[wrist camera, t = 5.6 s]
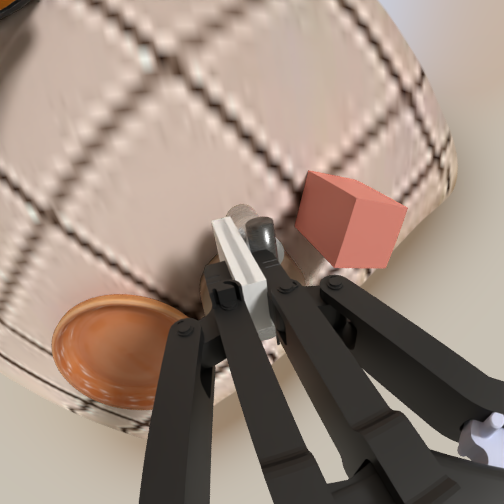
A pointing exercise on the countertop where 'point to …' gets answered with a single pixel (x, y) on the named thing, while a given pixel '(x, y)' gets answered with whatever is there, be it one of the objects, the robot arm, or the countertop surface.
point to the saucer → (114, 348)
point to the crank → (257, 241)
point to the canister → (11, 6)
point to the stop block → (349, 221)
